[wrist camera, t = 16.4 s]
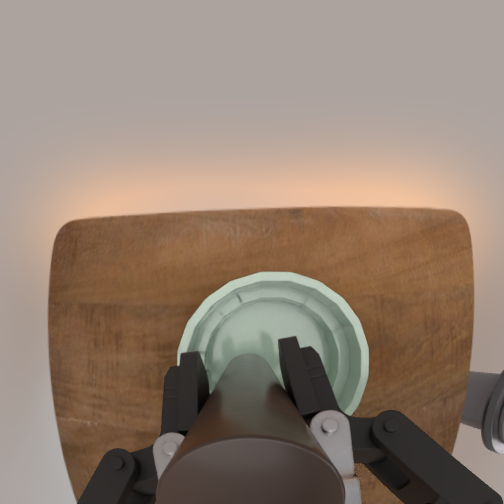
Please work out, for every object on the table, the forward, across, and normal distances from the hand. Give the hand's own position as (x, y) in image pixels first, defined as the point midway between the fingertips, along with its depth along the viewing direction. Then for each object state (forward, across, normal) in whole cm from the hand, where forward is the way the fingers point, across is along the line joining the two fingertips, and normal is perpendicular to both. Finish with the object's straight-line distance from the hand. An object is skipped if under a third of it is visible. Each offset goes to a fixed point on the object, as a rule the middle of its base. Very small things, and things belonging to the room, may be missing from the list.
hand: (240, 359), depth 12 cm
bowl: (+7, -2, +9) cm, 12 cm away
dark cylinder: (+4, 0, +7) cm, 8 cm away
